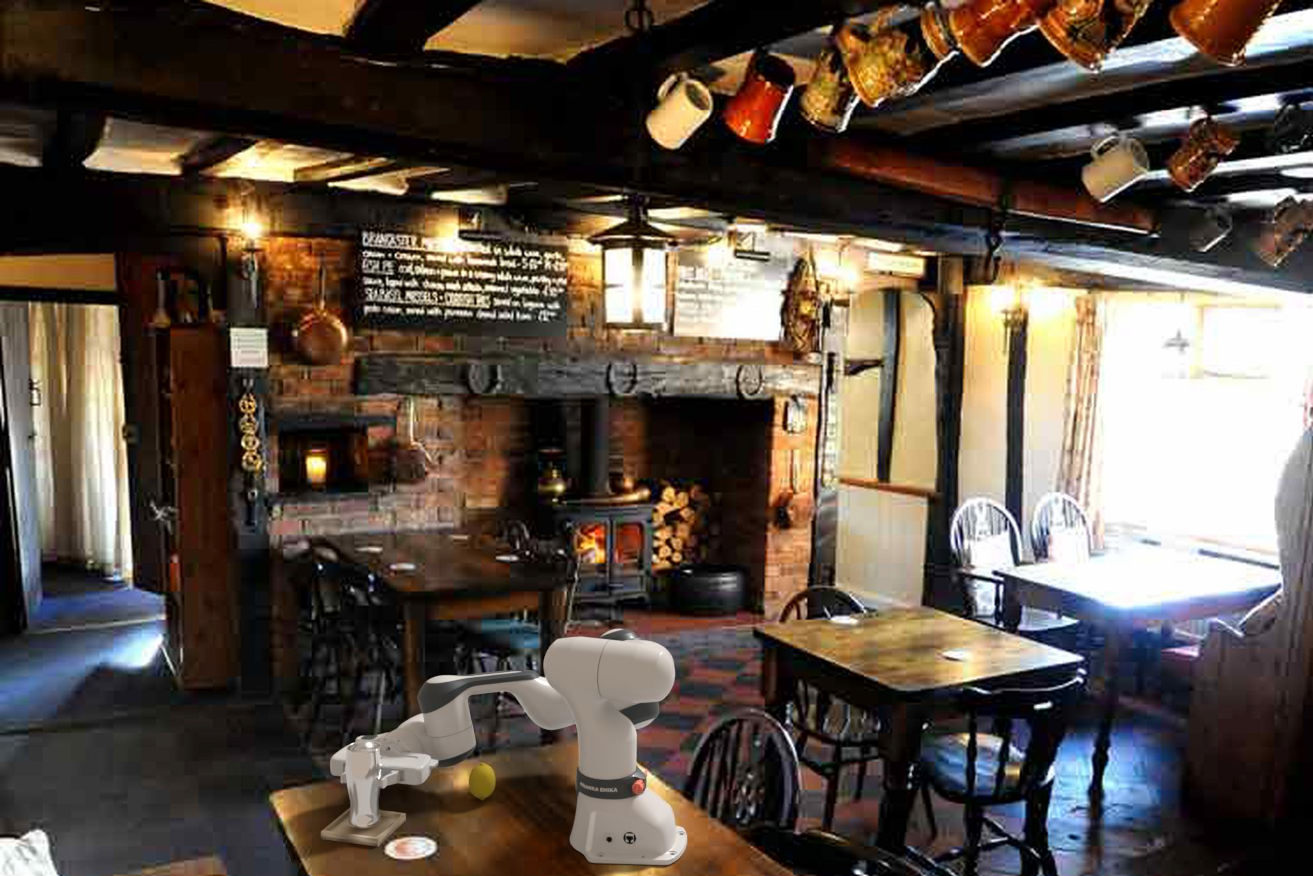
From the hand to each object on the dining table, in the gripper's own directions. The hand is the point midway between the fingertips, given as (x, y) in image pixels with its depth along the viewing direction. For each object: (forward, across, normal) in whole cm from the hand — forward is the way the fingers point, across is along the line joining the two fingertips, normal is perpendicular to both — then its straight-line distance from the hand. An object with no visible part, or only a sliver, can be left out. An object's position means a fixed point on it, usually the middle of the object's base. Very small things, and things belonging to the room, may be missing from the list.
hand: (361, 782), depth 191 cm
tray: (-1, 0, -10) cm, 10 cm away
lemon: (-19, -17, -10) cm, 27 cm away
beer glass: (-1, 0, -8) cm, 9 cm away
